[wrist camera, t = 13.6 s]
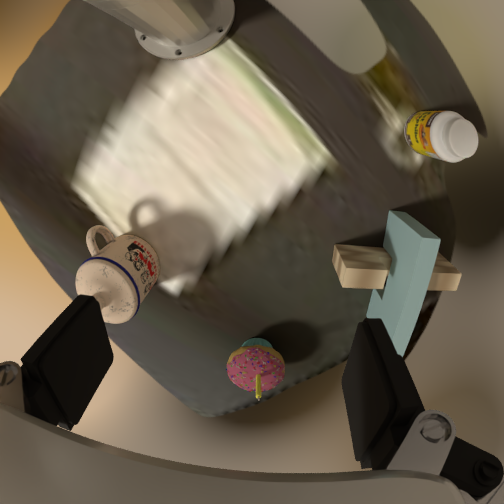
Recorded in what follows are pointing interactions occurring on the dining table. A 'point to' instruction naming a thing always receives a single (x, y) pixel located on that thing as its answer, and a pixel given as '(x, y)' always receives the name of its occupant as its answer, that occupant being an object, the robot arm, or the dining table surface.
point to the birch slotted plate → (384, 268)
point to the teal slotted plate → (404, 276)
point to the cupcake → (256, 366)
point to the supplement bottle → (441, 135)
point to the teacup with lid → (118, 274)
